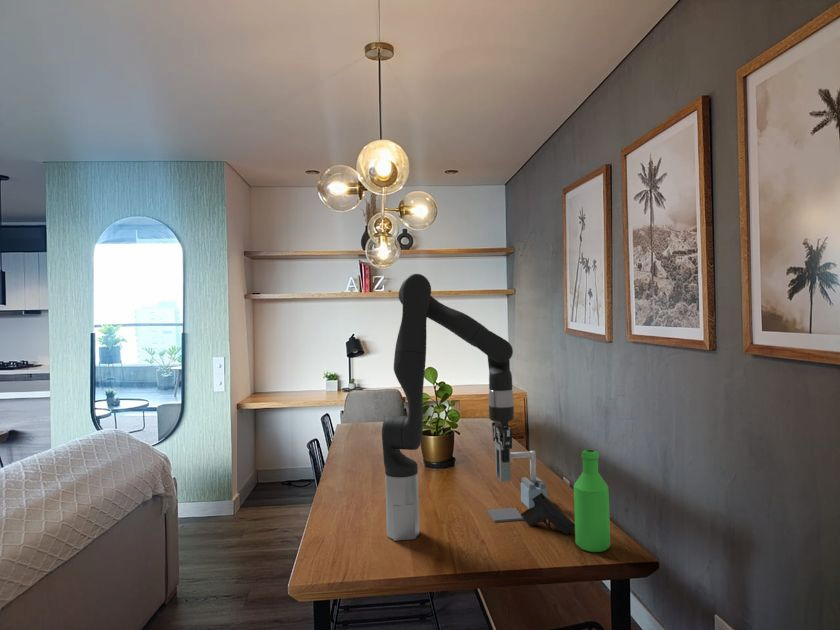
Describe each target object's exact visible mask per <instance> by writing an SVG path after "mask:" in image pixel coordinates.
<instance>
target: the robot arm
mask: <svg viewBox="0 0 840 630" xmlns="http://www.w3.org/2000/svg"><path fill="white" fill-rule="evenodd" d="M398 299H399V302H400V303H401V305H402V316H401V321H400V326H399V330H398V333H397V338H396V342H395V343H396V344H395V347H394V348H395V349H394V358H393V372H394V375H395V378H396V380H397V381H398V384H399V385H400V387H401V388H402V390H403V392H404V395H405V397H406V401H407V405H408V406H407V407H408V414H407V415H408V416H407V415H389V416H386V417H385V418H384V420H383V422H382V428H381V443H382V453H383V454H382V455H383V456H382V457H383V465H384V474H385V475H384V477H385V478H384V479H385V483H384V484H385V514H386V516H385V517H386V518H385V520H386V536H387V537H388V538H389V539H392V540H393V541H395V542H397V541H408V540H410V541H411V540H416V539H417V537H418V536H419V534H420V511H419V510H420V507H419V504H420V503H419V473H418V471H419V470H418V468H419V467H418V466H419V465H418V463H417V461H416V460H414V459H412V458H411V457H408V456H406V455H405V454H403V452H402V451H401V450H408V451H415V450H418V449H419V448H420V446H421V444H422V439H423V430H424V429H423V425H424V424H423V421H424V419H423V418H424V415H423V412H424V408H423V407H424V405H423V404H424V403H423V402H424V385H425V384H424V383H425V382H424V381H425V373H426V359H427V358H426V357H427V319H429V320H431V321H433V322H435V323H436V324H439V325H440V326H442V327H443V328H445V329H447V330H448V331H450V332H452V333H453V334H454V335H456V336H457V337H458V338H460V339H462V341H465V342H466V343H468V345H470V346H473V347H475V348H477V349H478V350H479V351H481V352H482V353H483V354H485V355H486V356H487V363H488V364H487V365H488V371H489V373H488V374H489V376H488V383H489V384H488V386H489V387H488V418H489V421H492V422H491V426H492V427H491V429H492V441H493V442H495V441H499V442H500V443H501V449H502V450H501V451H502V462H503V463H505V462H509V450H510V451H511V450H512V449H513V434H514V433H513V429H511V427H510V425H509V422H511V421H513V420H514V419H515V407H514V406H515V403H514V392H513V391H514V390H513V375H512V374H513V373H512V372H511V368H510V367H511V363H510V360H511V358H512V357H513V352H514V351H513V346H512V345H511V343H510V342H509V341H507V339H504V338H503V337H501V336H500V335H498V334H496V333H494V332H493V331H491V330H489V329H488V328H487V327H486V326H485V325H483V324H482V323H480V322H479V321H477V320H475V318H473V317H471V316H470V315H468V314H466V313H464V312H461V311H459V310H456V309H454V308H451V307H449V306H446V305H445V304H443V303H441V302H439V301H438V300H437V299H435V298H434V297H433V296H432V285H431V283H430V281H429V280H428V278H427V277H426V276H424V275H423V274H420V273H413V274H411V275H409V276H408V277H406V278H405V279H404V280H403V281H402V283H401V285H400V287H399V290H398ZM506 442H507V445H506Z"/></svg>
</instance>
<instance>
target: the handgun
mask: <svg viewBox="0 0 840 630" xmlns="http://www.w3.org/2000/svg"><path fill="white" fill-rule="evenodd" d="M532 500H533V501H534V507H532V508H530V509H528V508H527V509H526V510H525V511H523V512H522V513H520V514H521V516H522V517H523V519H524V520H523V521H525V522H526V523H527V524H528V525H529V527H534V526H535V525H537V524H538V523H544V524H545V525H546V527H548V529H549V530H551V531H555V530H559V531H560V532H561V533H563V534H564V536H567V535H570V534H572V532H575V522H573V521H572V520H571V519H570V518H569V517H568V516H567V515H566V514H564V513H563V512H562V511H561V510H560V509H559V508H558V507H557V506H556V505H555V504H554V503H553V502H552V501H551V500H550V499H549V498H548V496H547V497H545V496H544V495H543V494H542V493H540V494H539V495H537V496H536V497H535V498H533V499H532ZM547 520H548V522H547ZM551 524H552V525H553V526H554V528H552V527H551Z"/></svg>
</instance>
